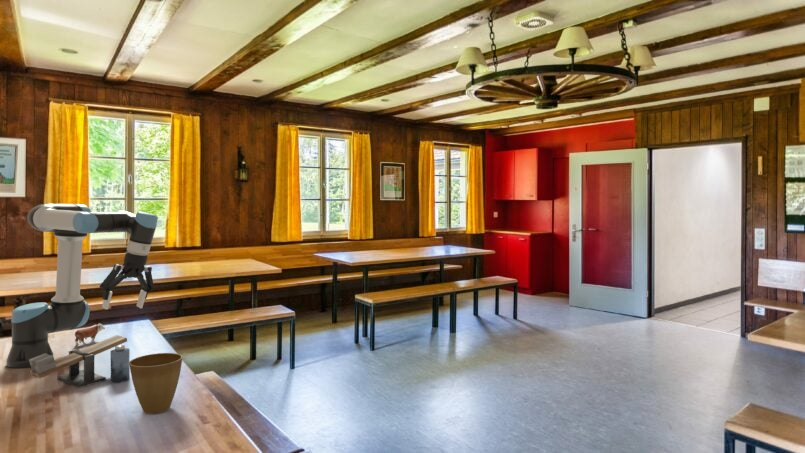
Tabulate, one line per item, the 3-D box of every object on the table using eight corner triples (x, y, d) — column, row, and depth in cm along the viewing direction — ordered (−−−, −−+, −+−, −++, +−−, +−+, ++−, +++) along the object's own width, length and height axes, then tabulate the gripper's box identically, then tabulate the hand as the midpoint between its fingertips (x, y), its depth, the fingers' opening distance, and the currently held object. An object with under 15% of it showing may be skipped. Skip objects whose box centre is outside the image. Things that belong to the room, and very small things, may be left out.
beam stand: (57, 378, 179) (57, 352, 179) (83, 372, 187) (83, 346, 187) (79, 387, 171) (78, 359, 171) (105, 380, 179) (105, 353, 178)
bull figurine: (106, 340, 233) (106, 323, 233) (77, 346, 221) (77, 329, 221) (100, 338, 235) (100, 322, 235) (71, 345, 223) (71, 327, 222)
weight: (107, 380, 178) (107, 346, 178) (123, 376, 183) (123, 343, 183) (116, 384, 175) (116, 349, 175) (132, 379, 180) (132, 345, 180)
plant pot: (192, 402, 159) (192, 354, 158) (160, 421, 144) (160, 368, 144) (153, 398, 162) (153, 350, 162) (117, 416, 148) (117, 364, 147)
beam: (29, 375, 169) (25, 359, 168) (116, 339, 194) (113, 325, 192) (41, 380, 164) (37, 364, 163) (129, 342, 189) (125, 328, 188)
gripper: (110, 253, 170) (95, 312, 170) (172, 257, 192) (158, 309, 192) (98, 247, 173) (83, 305, 173) (160, 252, 196) (146, 303, 196)
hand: (122, 307), depth 183 cm, fingers open, 13 cm apart
